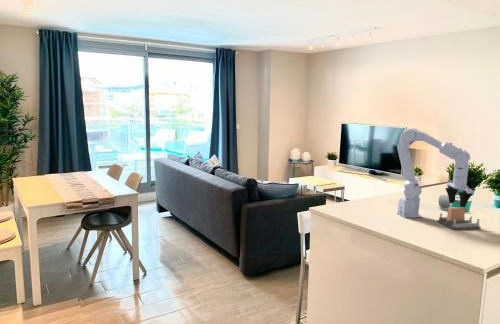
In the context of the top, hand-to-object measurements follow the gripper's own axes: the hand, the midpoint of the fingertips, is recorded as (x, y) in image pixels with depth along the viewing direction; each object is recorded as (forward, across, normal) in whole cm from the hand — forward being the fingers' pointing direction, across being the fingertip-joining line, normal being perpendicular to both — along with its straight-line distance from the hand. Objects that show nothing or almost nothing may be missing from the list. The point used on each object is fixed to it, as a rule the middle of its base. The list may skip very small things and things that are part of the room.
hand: (456, 204), depth 179 cm
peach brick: (+8, 0, 0) cm, 8 cm away
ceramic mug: (+10, +25, -14) cm, 31 cm away
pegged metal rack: (+9, -2, 0) cm, 10 cm away
